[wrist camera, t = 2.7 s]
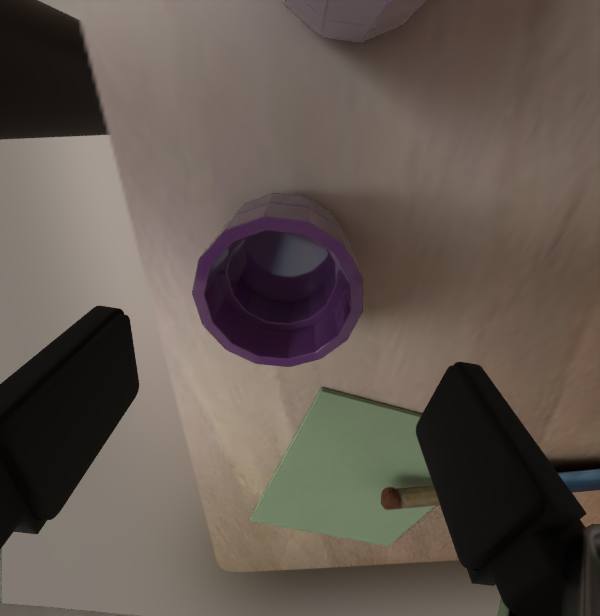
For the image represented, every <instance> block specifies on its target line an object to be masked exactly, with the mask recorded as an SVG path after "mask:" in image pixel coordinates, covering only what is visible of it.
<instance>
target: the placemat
mask: <svg viewBox="0 0 600 616" xmlns="http://www.w3.org/2000/svg"><path fill="white" fill-rule="evenodd" d="M421 415H422V414H419V413H415V412H412V411H408V410H404V409H400V408H397V407H393V406H389V405H385V404H382V403H378V402H374V401H370V400H367V399H363V398H359V397H355V396H352V395H348V394H344V393H340V392H337V391H333V390H329V389H325V388H321V389H320V391H319V393H318V395H317V397H316V398H315V400H314V402H313V404H312V406H311V408H310V409H309V411H308V413H307V415H306V417H305V419H304V420H303V422H302V424H301V426H300V428H299V430H298V431H297V433H296V435H295V437H294V439H293V441H292V442H291V444H290V446H289V448H288V450H287V452H286V453H285V455H284V457H283V459H282V461H281V463H280V464H279V466H278V468H277V470H276V472H275V474H274V475H273V477H272V479H271V481H270V483H269V485H268V486H267V488H266V490H265V492H264V494H263V496H262V497H261V499H260V501H259V503H258V505H257V507H256V508H255V510H254V512H253V514H252V516H251V518H250V521H252V522H257V523H263V524H268V525H274V526H279V527H285V528H290V529H296V530H301V531H307V532H313V533H318V534H324V535H329V536H335V537H340V538H346V539H351V540H357V541H362V542H368V543H373V544H379V545H384V546H390V545H391V544H392V543H393V542H394V541H395V540H397V539H398V538H399V537H400V536H401V535H402V534H403V533H405V532H406V531H407V530H408V529H409V528H410V527H411V526H413V525H414V524H415V523H416V522H417V521H418V520H419V519H421V518H422V517H423V516H424V515H425V514H426V513H428V512H429V511H430V510H431V509H432V508H433V507H434V506H427V507H416V508H405V509H393V510H386V509H384V508H383V506H382V505H381V493H382V491H383V490H384V489H385V488H387V487H394V488H395V489H398V488H409V487H420V486H430V485H433V483H432V480H431V477H430V474H429V471H428V468H427V465H426V462H425V459H424V456H423V454H422V451H421V448H420V445H419V442H418V439H417V436H416V425H417V423H418V421H419V419H420V417H421Z"/></svg>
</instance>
